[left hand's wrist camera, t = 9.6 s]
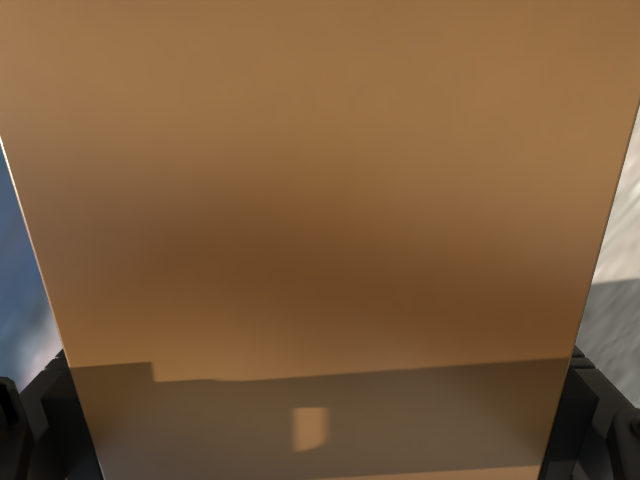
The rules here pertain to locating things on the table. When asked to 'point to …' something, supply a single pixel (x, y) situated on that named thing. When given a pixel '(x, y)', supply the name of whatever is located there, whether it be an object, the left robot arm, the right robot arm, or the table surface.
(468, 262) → the wide beam
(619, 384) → the table surface
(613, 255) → the table surface
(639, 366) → the table surface
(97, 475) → the left robot arm
